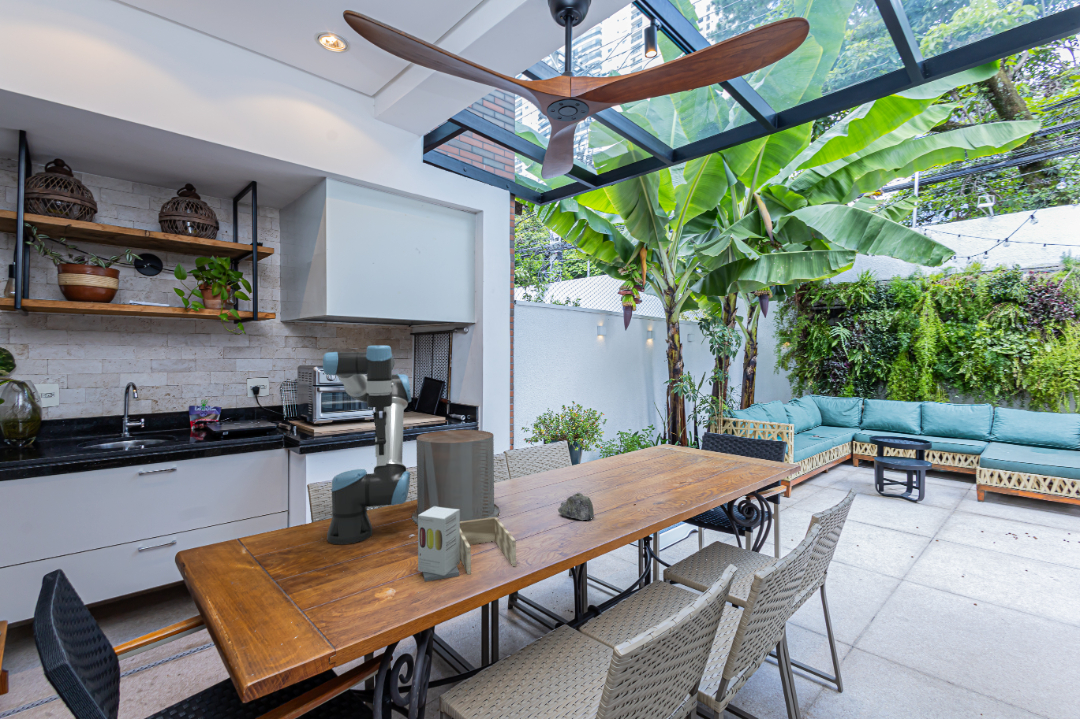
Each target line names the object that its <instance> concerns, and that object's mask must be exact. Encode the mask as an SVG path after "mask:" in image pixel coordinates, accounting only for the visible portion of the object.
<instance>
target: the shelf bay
mask: <svg viewBox="0 0 1080 719" xmlns="http://www.w3.org/2000/svg"><path fill="white" fill-rule="evenodd" d="M491 541H494V542H495V544H496V543H497V544H496V545H497V547H498V548H499V549H500V551H501V550H502V551H501V552H502V553H503V555H504V556H505V558H506V559H507V560H509V561H508V562H509V563H510V565H511V564H512V565H511V566H512V567H513V566H515V567H517V540H516V539H515V537H513V535H512V534H511V533H510V532H509V530H508V529H507V528H506V527H505V525H504V524H503V523H502V522H501V520H500V519H499V517H498V518H497V517H491V518H484V519H476V520H468V521H460V562H461V564H462V565H464V566H463V568H464V570H465V572H466V574H467V575H471V574H472V553H471V552H472V549H471V548H472V547H471V546H472V545H471V544H474V545H480V544H479V543H481V544H486V543H485V542H488V543H492V542H491Z"/></svg>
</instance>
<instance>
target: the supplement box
mask: <svg viewBox="0 0 1080 719" xmlns="http://www.w3.org/2000/svg"><path fill="white" fill-rule="evenodd" d="M460 562H461V559H460V510H459V509H451V508H443V507H436V506H434V507H432V508H430V509H428V510H426V511H425V512H423V513H421V514H419V515H418V526H417V571H418V572H421V573H422V572H427V573H433V574H438V575H444V576H445V575H446V574H447V573H448V572H450V571H451V570H452V569H453V568H455V567H456V566H457V567H458V565H459V564H460Z"/></svg>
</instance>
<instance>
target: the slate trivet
mask: <svg viewBox="0 0 1080 719" xmlns="http://www.w3.org/2000/svg"><path fill="white" fill-rule="evenodd" d="M421 573H422V577H423V580H424V582H425V583H426V582H431V581H432V582H433V581H437V580H441V579H449V578H454V577H460V571H459V568H458V565H457V566H456V567H455V568H453V569H452V570H451V571H450V572H448V573H447V574H446V575H445V576H444V575H438V574H433V573H427V572H422V571H421Z"/></svg>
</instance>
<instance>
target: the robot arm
mask: <svg viewBox="0 0 1080 719" xmlns="http://www.w3.org/2000/svg"><path fill="white" fill-rule="evenodd" d="M394 367H395V358H394V356H393V353H392V348H391V346H390V345H368V346H367V347H366V351H334V352H333V351H332V352H331V351H330V352H325V353H324V355H323V357H322V369H323V370H322V371H323V373H324V375H327V376H336V377H337V378H338V379H339V380H340V382H341V383H342V384H343V388H344V391H345V393H346V394H347V395H348V396H350V397H351V398H353V399H354V400H357V401H359V402H362V403H366V404H367V407H369V408H374V410H375V411H373V413H372V414H373V415H372V416H373V423H374V426H375V427H374V428H375V430H374V434H375V435H374V436H375V438H374V440H375V441H374V448H375V453H374V454H375V458H376V466H374V467H373V473H368V472H367V470H366V468H362V469H361V468H357V469H351V470H347V471H343V472H340V473H339V474H336V475H335V476H334V477H333V478H332V480H331V490H330V491H331V508H332V509H331V512H332V513H331V520H330V523H329V527H328V530H327V532H326V533H327V534H326V535H327V536H326V540H327V542H328V543H330V544H331V545H332V544H333V545H351V544H350V543H352V544H356V542H357V543H360V542H363V541H366V540H368V539H369V538H371V537H370V536H373V525H372V523H371V520H370V518H369V515H368V507H382V506H383V507H384V506H396V505H402V504H405V503H406V501H407V499H408V497H409V496H408V495H409V492H410V482H411V472H410V471H408V470H407V466H406V465H405V464H403V451H404V450H403V448H404V446H403V444H404V443H403V441H404V410H405V409H406V408H407V407H408V404H409V403H411V402H412V396H411V395H412V393H411V386H410V385H411V384H410V379H409V376H408V375H407V374H399V373H396V374H392V372H393V371H392V370H393V369H394ZM365 539H366V540H365ZM359 541H360V542H359Z"/></svg>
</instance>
